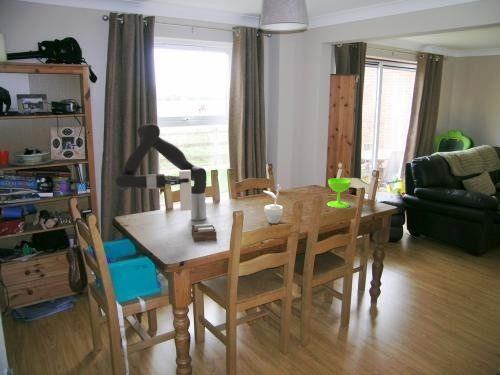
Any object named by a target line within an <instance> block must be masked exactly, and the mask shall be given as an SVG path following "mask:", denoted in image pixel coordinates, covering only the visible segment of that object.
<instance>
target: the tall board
mask: <svg viewBox="0 0 500 375" xmlns="http://www.w3.org/2000/svg"><path fill="white" fill-rule="evenodd" d="M178 176H179V179H180V178H181V179H184V178H188V179H189V182H188V183H181V184H179V199H180V200H179V202H180V205H179V206H180V211H182V212H183V211H191V210H192V197H191V187H192V180H191V170H180V169H179V171H178Z"/></svg>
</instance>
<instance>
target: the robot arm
mask: <svg viewBox="0 0 500 375" xmlns="http://www.w3.org/2000/svg"><path fill="white" fill-rule="evenodd" d="M160 134H161V130H160V127H159V126H158V125H157V124H155V123H145V124H141V125H139V126H138V128H137V136H138V137H139V138H140V140H141V141H140V143H139V145H138V146H137V147H136V148H135V149H134V150H133V151H132V152H131V153H130V155H129V157H128V158H127V159H126V162H125V164H124V166H123V169H122V170H123V171H122V173H121V174H119V175H118V176H116V178H115V185H116V186H117V189H118V190H120V191H122V192H124V191H127V190H129V189H130V188H137V189H141V190H142V189H165V188H166V185H168V186H177V185H180V184H181V183H188V182H189V179H188V178H184V179H181V178H180V179H179V175H177V176H176V175H175V176H173V175H169V176H168V177H165V173H153V174H141V175H136V174H137V171H138V170H139V168H140V166H141V164H142V163H143V160H144V159H145V157H146V155H147V154H148V153H149V152H150V149H152V148H154V149H155V150H156V151H157V152H158V153H159V154H161V155H162V156H163V157H164V158H165V160H167V161H168V162H170V163H171V164H172V165H173V166H175V167H176V168H177V169H179V170H191V182H192V181H193V186H191V197H192V210H190V219H191V220H192V221H203V220H206V218H207V202H206V188H207V176H208V175H207V172H206V170H205V168H204V167H199V166H195V165H194V164H192V163H191V162H190V161H188V160H187V158H186V155H185V154H184V152H183V150H181V149H180V148H178V146H176V145H175V144H174V143H172V142H170V141H168V140H165V139H163V138H161V137H160V136H161V135H160Z"/></svg>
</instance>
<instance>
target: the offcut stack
mask: <svg viewBox="0 0 500 375" xmlns="http://www.w3.org/2000/svg"><path fill="white" fill-rule="evenodd" d="M193 225H194V230H198V232H210V231H213V226H214V224H213V223H200V224H193Z"/></svg>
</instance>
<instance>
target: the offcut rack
mask: <svg viewBox="0 0 500 375" xmlns="http://www.w3.org/2000/svg"><path fill="white" fill-rule="evenodd" d="M194 225H195V224H191V235H192V240H193V242H194V243H199V242H210V241H211V242H213V241H217V230H216V228H215V226H214V225H213V231H210V232H198V230H194Z"/></svg>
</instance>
